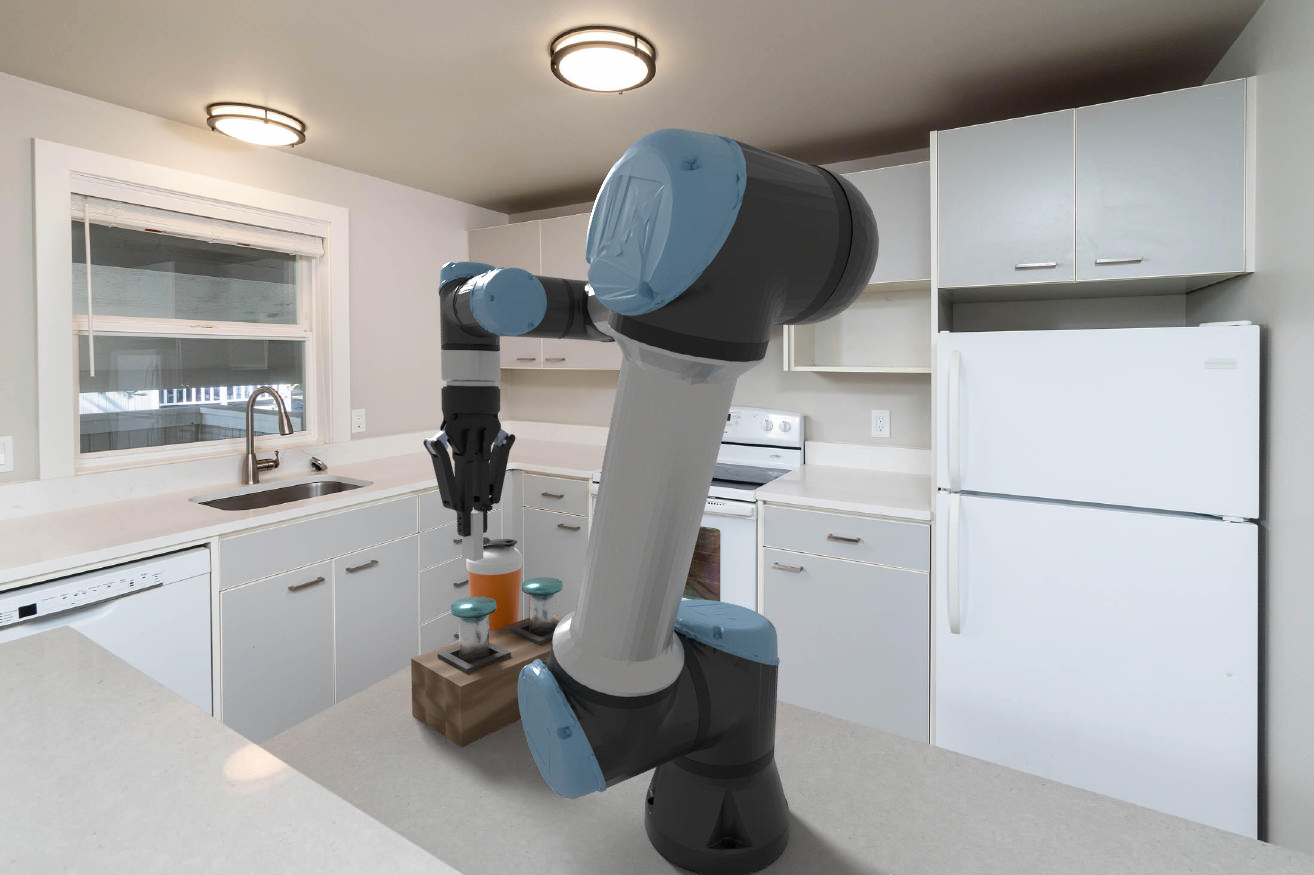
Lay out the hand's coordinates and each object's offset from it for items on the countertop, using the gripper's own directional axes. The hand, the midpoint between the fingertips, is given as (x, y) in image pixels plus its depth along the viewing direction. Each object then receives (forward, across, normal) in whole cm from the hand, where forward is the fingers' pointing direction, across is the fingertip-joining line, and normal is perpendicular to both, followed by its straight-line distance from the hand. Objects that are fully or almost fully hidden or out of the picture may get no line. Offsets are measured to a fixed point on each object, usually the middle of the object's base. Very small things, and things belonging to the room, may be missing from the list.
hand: (472, 557), depth 88 cm
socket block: (+22, -6, 0) cm, 23 cm away
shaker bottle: (+22, -12, -12) cm, 28 cm away
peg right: (+16, -12, 0) cm, 20 cm away
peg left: (+16, 0, 0) cm, 16 cm away
